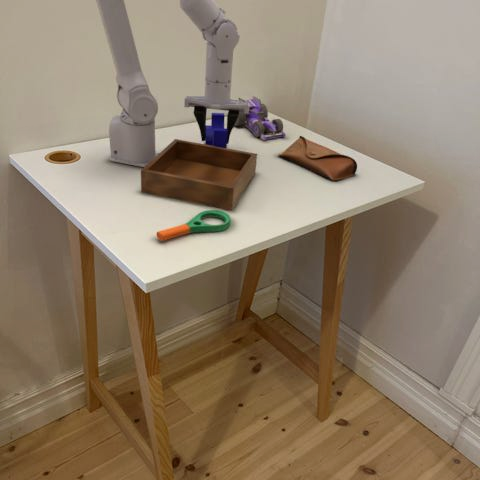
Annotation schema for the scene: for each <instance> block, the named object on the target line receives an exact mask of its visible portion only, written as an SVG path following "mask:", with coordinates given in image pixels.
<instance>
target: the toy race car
mask: <svg viewBox="0 0 480 480" xmlns="http://www.w3.org/2000/svg"><path fill="white" fill-rule="evenodd" d="M237 101H242V102H248V103H250V104H249V113H248V114H245V113H244V112H240V113H239V116H238V119H237V121H236V122H235V124H234V126H233V127H240V126H244V125H245V128H246V129H248V130H249V131H250V132H251V133H252V135H253V137H255V138H260V139H261V140H262V141H265V142H266V140H269V139H276V138H281V137H282V138H286V132H284V123H283V121H282V119H280V118H275V119H272V120H270V119H268V116H269V112H268V107H267V106H266V104H265V103H262V101H261V99H260V98H258V97H256V96H254V95H253V96H252V98H250V99H243V98H241V97H238V99H237ZM265 133H271V134H266V135H265Z"/></svg>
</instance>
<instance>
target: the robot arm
mask: <svg viewBox="0 0 480 480" xmlns="http://www.w3.org/2000/svg"><path fill="white" fill-rule="evenodd" d="M95 3H96V5H97V8H98V12H99V15H100V19H101V22H102V26H103V30H104V32H105V33H104V34H105V36H106V40H107V43H108V47H109V50H110V54H111V58H112V60H113V65H114V68H115V71H116V76H115V80H116V85H117V90H116V100H117V102H118V105H119V106H120V107H121V108H122V109H121V112H120V115H114V116H112V118H111V120H110V122H109V127H108V137H109V149H110V157H109V161H110V162H113V163H120V164H123V165H124V164H126V165H130V166H135V167H140V168H144V167H145V166H146V165H147V164H148V163H149V162H150V161H152V160H153V159H154V158H155V157H156V156H157V155H158V154H159V153H160V152H156V116H157V114H158V111H159V105H158V102H157V99H156V98H155V96H154V95H153V94H152V92H151V91H150V87H149V83H148V82H147V80H146V77H145V75H144V73H143V70H142V65H141V63H140V58H139V55H138V50H137V47H136V46H137V45H136V43H135V39H134V36H133V35H134V34H133V32H132V27H131V22H130V19H129V15H128V11H127V6H126V4H125V0H95ZM179 6H180V9H181V10H182V11H183V12H184V13H185V15H186V16H187V18H188V19H189V20H190V21H191V22H192V23H193V24H194V25H195V26H196V28H197V29H198V31H199V32H200V33H201V35H202V38H203V40H204V41H206V50H205V51H206V52H205V53H206V55H205V76H204V77H205V78H204V95H200V96H199V95H198V96H197V95H195V96H194V95H186V96H184V108H193V116H194V118H195V120H196V122H197V125H198V129H199V133H200V137H201V142H205V139H206V125H207V124H206V123H207V109H209V110H217V111H228V112H227V115H226V128H227V145H229V142H230V137H231V133H232V131H233V129H234V127H235V126H234V124H235V122H236V121H237V119H238V116H239V113H240V112H244V113H245V114H248V113H249V104H250V103H248V102H242V101H238V99H237V100H236V99H233V98H231V94H232V93H231V92H232V91H231V90H232V76H233V61H234V50H235V48H236V47H237V45H238V44H239V41H240V35H239V32H238V28H237V25H236V24H235V23H234V22H233V21H232V20H230V19H228V18H226V10H225V9H224V8H223V7H220V6H219V5H218V4H217V3H216V1H215V0H179Z"/></svg>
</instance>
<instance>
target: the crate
mask: <svg viewBox="0 0 480 480" xmlns="http://www.w3.org/2000/svg"><path fill="white" fill-rule="evenodd" d="M158 153H159V154H158V155H157V156H156V157H155V158H154V159H153V160H152V161H150V162H149V163H148V164H147V165H146V166H145V167H142V168H141V169H140V186H141V187H140V188H141V193H144V194H147V195H148V194H149V195H154V196H157V197H158V196H159V197H163V198H169V199H174V200H179V201H183V202H189V203H194V204H199V205H204V206H208V207H214V208H218V209H223V210H229V211H233V210H234V208H235V206H236V205H237V203H238V202H239V200H240V199H241V197H242V196H243V194H244V192H245V191H246V189H247V188H248V186H249V184H250V183H251V181H252V180H253V178H254V176H255V175H256V170H257V160H258V153H255V152H249V151H244V150H239V149H233V148H228V147H227V148H222V147H217V146H211V145H206V144H205V143H201V142H200V143H199V142H194V141H189V140H183V139H177V138H175V139H173V140H172V141H171V142H170V143H169V144H168V145H167V146H166V147H165V148H164V149H162V150H161V151H160V152H158Z"/></svg>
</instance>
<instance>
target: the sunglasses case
mask: <svg viewBox="0 0 480 480" xmlns="http://www.w3.org/2000/svg"><path fill="white" fill-rule="evenodd" d="M278 156H279V157H281V158H284V159H286V160H289V161H290V162H293V163H294V164H296V165H299V166H301V167H302V168H305V169H306V170H308V171H310V172H312V173H314V174H317V175H318V176H321V177H323V178H326V179H329V180H331V181H342V180H346V179H349V178H352V177H354V176H355V175H356V172H357V170H358V163H357V161H356V159H354V158H353V157H351V156H348V155H345V154H341V153H339V152H337V151H335V150H333V149H331V148H329V147H326V146H324V145H322V144H319V143H317V142H314V141H312V140H310V139H307V138H306V137H304V136H303V135H299V138H298V139H296V140H295V141H294V142H293V143H292V144H290V145H289V146H288V147H287V148H286V149H285V150H284V151H283V152H281V154H278Z"/></svg>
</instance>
